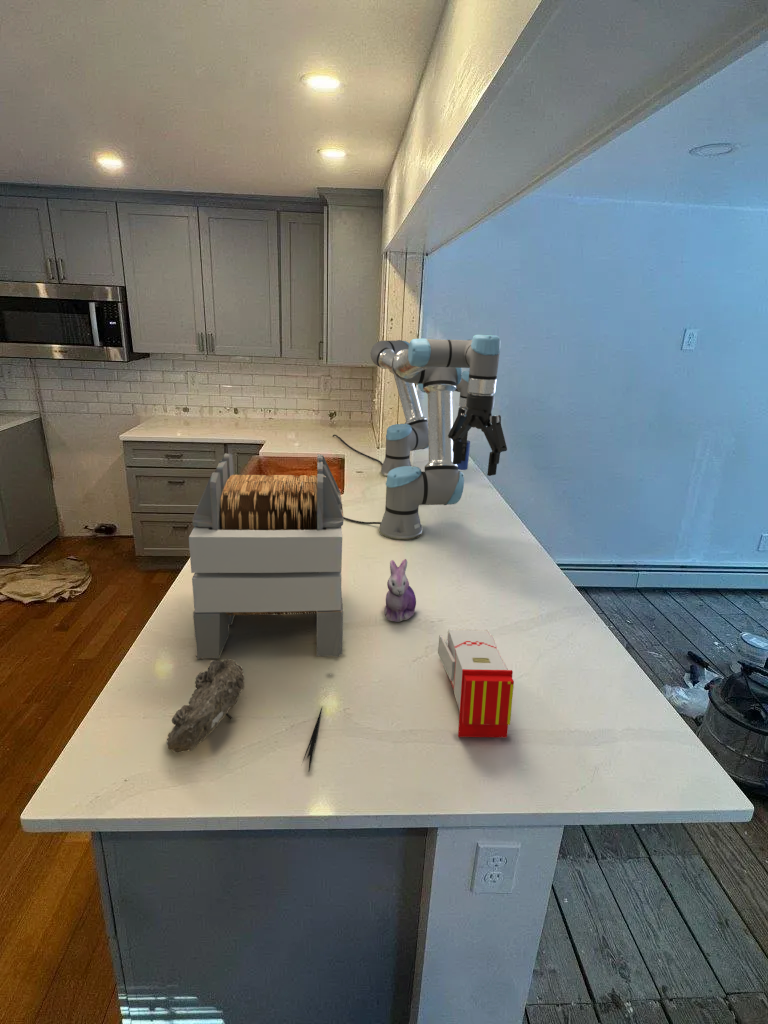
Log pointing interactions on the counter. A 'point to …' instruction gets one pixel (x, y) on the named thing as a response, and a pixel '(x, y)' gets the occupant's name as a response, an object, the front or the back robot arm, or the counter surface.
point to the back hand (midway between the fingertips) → (462, 458)
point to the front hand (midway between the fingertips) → (473, 469)
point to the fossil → (206, 705)
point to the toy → (478, 682)
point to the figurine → (399, 594)
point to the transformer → (267, 553)
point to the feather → (313, 740)
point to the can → (464, 464)
